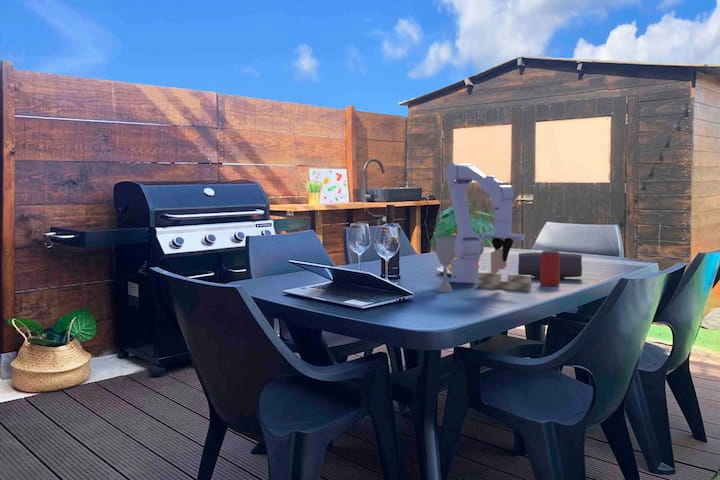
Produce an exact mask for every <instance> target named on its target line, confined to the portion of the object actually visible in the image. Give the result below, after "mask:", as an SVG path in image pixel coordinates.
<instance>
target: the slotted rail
mask: <svg viewBox="0 0 720 480" xmlns="http://www.w3.org/2000/svg"><path fill="white" fill-rule="evenodd" d="M477 285H478V288H488V289H500V290H501V289H502V290H513V291H515V290H516V291H525V292H526V291H527V292H530V291H532V276H531V275H519V274H514V273H509V274H507V280H502V273H499V272H497V273H496V274H491V272H485V271H480V272H479V273H478V283H477Z"/></svg>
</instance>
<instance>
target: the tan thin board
mask: <svg viewBox="0 0 720 480" xmlns="http://www.w3.org/2000/svg"><path fill="white" fill-rule="evenodd" d="M505 268H507V261H503V246H502V247H501V248H499V249H497V250H495V249H494V251H492V252H490V273H491V274H496V273H499V272H500V270H504V269H505Z"/></svg>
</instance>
